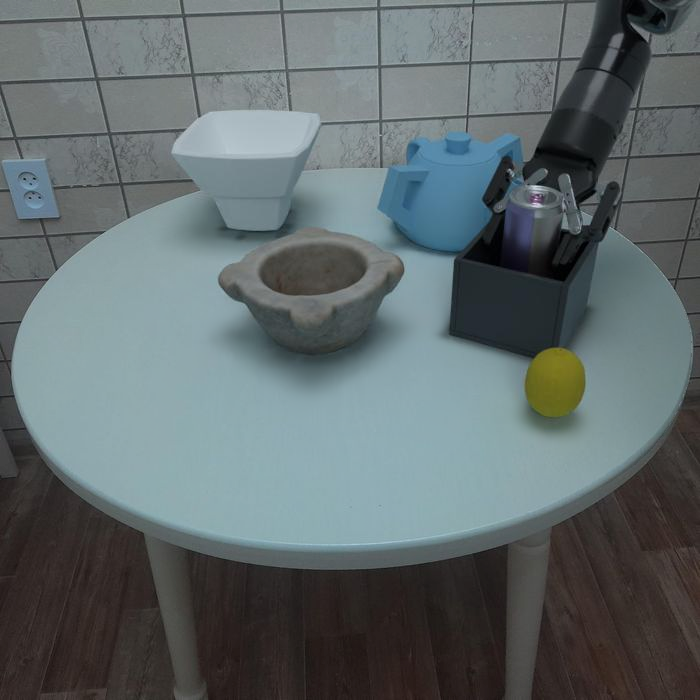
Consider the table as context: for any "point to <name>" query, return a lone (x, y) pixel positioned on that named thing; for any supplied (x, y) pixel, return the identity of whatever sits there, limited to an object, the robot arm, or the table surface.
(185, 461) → the table surface
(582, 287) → the open box
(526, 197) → the beverage can
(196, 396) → the table surface
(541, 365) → the lemon
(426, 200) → the teapot
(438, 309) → the table surface
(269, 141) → the bowl
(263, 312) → the mortar
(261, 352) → the table surface
